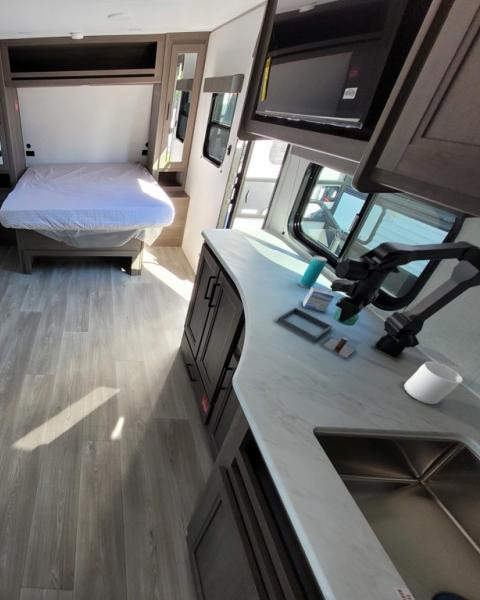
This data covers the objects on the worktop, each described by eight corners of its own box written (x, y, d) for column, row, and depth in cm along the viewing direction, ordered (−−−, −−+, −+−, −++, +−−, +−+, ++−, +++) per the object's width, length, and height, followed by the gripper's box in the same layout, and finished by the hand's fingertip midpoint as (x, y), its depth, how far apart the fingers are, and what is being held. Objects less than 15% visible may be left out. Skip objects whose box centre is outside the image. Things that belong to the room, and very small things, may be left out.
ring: (357, 321, 108) (362, 315, 107) (350, 328, 105) (355, 321, 103) (337, 312, 112) (341, 305, 111) (329, 318, 109) (334, 311, 108)
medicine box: (303, 307, 133) (312, 291, 128) (302, 302, 137) (311, 286, 132) (324, 313, 131) (334, 296, 126) (323, 308, 134) (333, 291, 129)
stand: (354, 351, 112) (361, 341, 109) (345, 359, 108) (353, 348, 105) (331, 339, 117) (338, 329, 114) (322, 346, 113) (329, 336, 110)
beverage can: (308, 283, 151) (323, 255, 143) (314, 289, 147) (330, 261, 138) (296, 282, 152) (310, 254, 143) (302, 288, 147) (317, 260, 138)
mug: (396, 372, 104) (417, 350, 98) (428, 382, 101) (451, 360, 95) (406, 397, 95) (429, 375, 89) (441, 409, 92) (468, 387, 86)
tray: (329, 330, 121) (332, 326, 119) (313, 342, 115) (317, 337, 113) (292, 312, 130) (295, 307, 129) (276, 322, 124) (279, 317, 123)
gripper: (353, 264, 109) (330, 299, 118) (330, 277, 100) (308, 314, 109) (391, 278, 102) (364, 314, 111) (371, 293, 93) (343, 332, 102)
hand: (344, 318), depth 108 cm, fingers closed on ring, 6 cm apart
